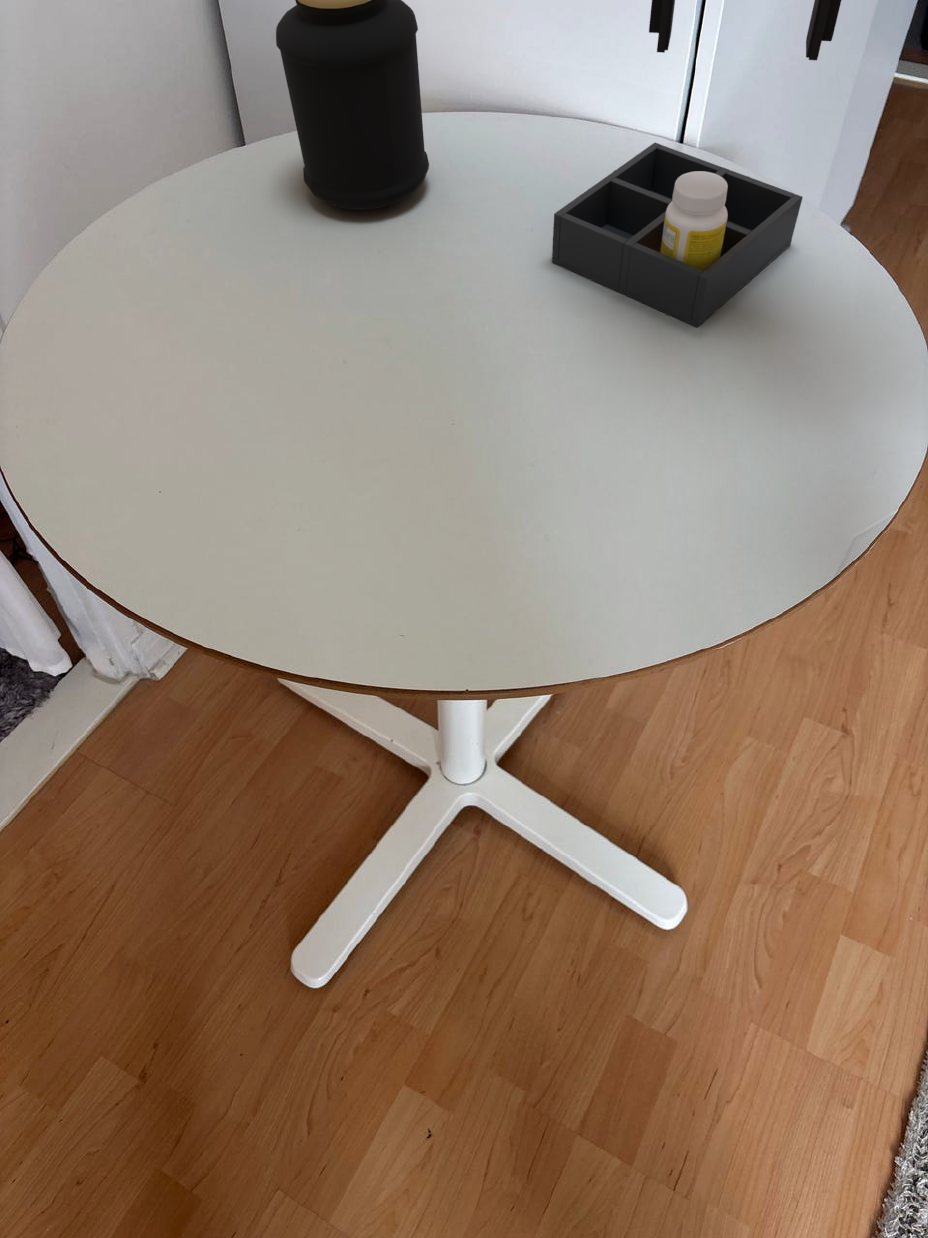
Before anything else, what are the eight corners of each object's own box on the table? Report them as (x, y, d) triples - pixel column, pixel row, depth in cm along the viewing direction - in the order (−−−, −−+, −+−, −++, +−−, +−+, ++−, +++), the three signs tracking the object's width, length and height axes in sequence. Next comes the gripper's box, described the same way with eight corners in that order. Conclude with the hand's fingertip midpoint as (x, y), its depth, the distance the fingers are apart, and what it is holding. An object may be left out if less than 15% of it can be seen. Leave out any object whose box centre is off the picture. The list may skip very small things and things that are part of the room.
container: (280, 181, 94) (240, -32, 80) (388, 143, 98) (368, -67, 83) (341, 239, 88) (310, 19, 73) (454, 196, 92) (445, -21, 77)
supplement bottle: (724, 275, 82) (744, 178, 75) (699, 305, 79) (718, 207, 73) (671, 258, 83) (686, 161, 77) (646, 287, 81) (659, 189, 74)
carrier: (790, 245, 85) (803, 196, 82) (697, 327, 79) (706, 278, 75) (648, 189, 91) (654, 141, 88) (551, 262, 85) (553, 213, 81)
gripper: (961, -316, 53) (869, 30, 66) (638, -314, 56) (613, 18, 69) (975, -285, 48) (874, 80, 62) (623, -284, 51) (599, 65, 65)
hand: (736, 47), depth 65 cm, fingers open, 9 cm apart
